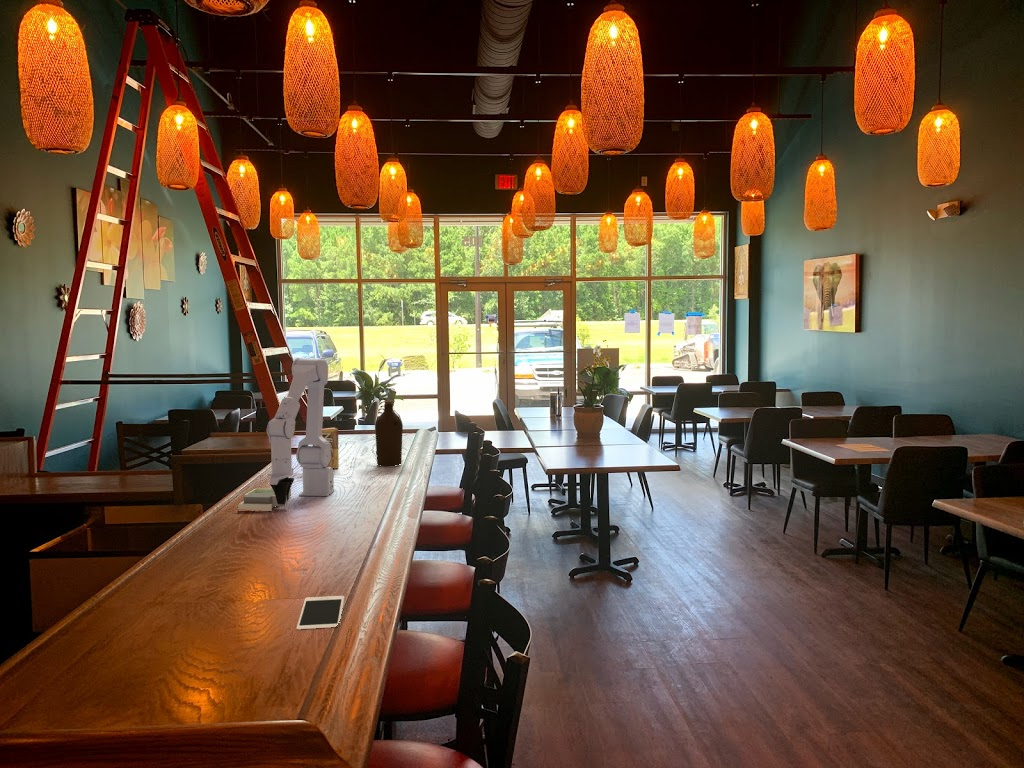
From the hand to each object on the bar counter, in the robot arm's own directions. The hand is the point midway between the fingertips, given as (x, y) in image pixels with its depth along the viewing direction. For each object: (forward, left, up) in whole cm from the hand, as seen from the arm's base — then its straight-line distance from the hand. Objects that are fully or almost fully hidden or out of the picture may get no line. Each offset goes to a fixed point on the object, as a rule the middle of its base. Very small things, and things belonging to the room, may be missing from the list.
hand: (282, 503), depth 229 cm
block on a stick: (+5, 0, -2) cm, 5 cm away
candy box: (+5, -60, -2) cm, 60 cm away
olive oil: (-17, -70, -2) cm, 72 cm away
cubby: (+7, 0, -2) cm, 7 cm away
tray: (+9, -11, -2) cm, 14 cm away
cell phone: (-35, +79, -2) cm, 87 cm away
